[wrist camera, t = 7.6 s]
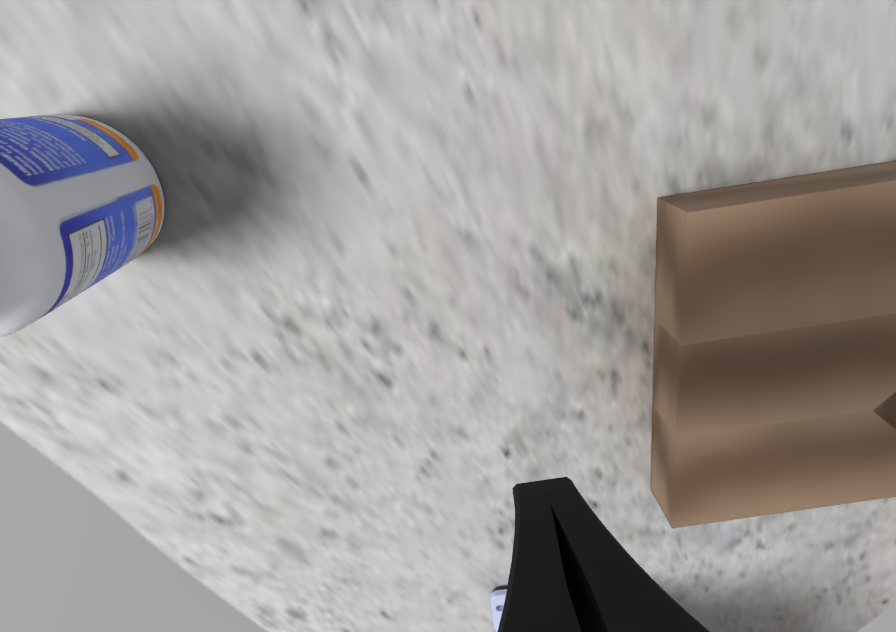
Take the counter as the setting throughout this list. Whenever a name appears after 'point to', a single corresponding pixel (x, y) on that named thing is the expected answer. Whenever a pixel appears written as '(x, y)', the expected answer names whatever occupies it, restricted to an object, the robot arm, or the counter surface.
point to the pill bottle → (68, 211)
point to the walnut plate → (775, 346)
